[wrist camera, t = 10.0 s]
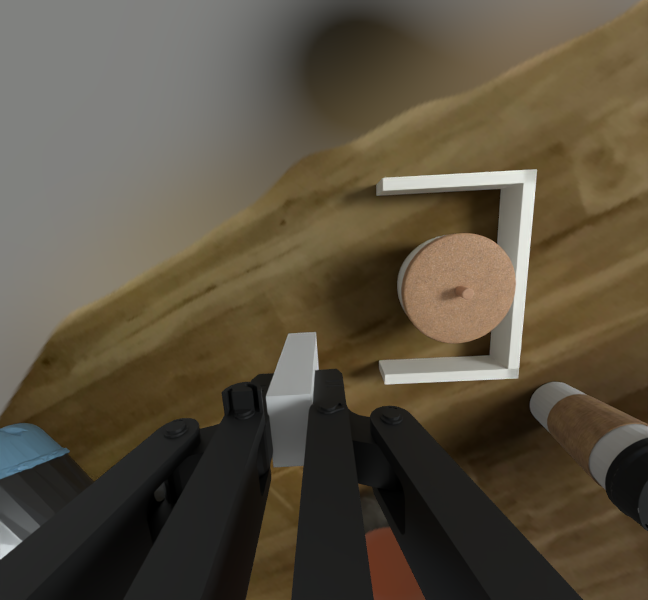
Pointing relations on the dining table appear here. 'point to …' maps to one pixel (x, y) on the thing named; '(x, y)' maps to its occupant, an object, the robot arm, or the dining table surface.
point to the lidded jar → (456, 287)
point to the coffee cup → (599, 443)
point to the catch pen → (517, 246)
